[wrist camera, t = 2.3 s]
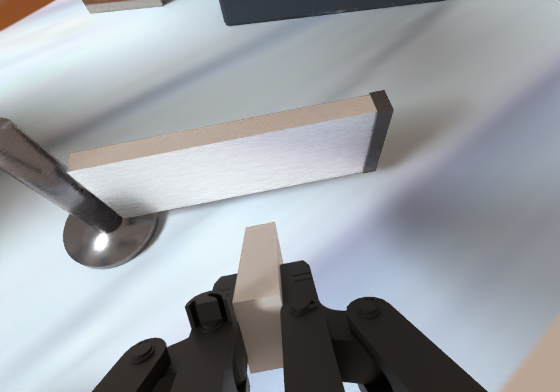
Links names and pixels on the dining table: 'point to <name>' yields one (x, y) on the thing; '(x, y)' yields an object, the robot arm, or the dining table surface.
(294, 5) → the power unit
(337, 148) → the swing panel
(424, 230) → the dining table surface
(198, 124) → the dining table surface
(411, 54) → the dining table surface
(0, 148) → the panel post
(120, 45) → the dining table surface
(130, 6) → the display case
